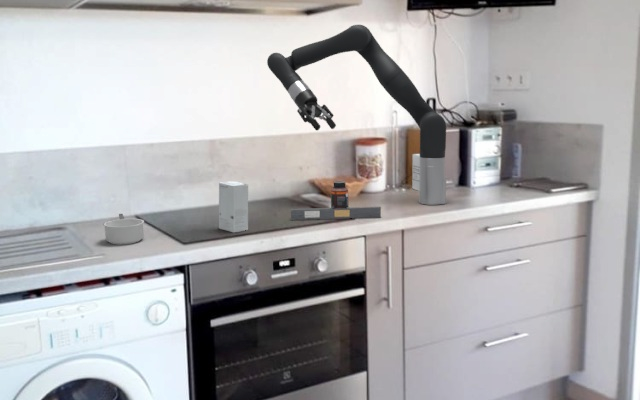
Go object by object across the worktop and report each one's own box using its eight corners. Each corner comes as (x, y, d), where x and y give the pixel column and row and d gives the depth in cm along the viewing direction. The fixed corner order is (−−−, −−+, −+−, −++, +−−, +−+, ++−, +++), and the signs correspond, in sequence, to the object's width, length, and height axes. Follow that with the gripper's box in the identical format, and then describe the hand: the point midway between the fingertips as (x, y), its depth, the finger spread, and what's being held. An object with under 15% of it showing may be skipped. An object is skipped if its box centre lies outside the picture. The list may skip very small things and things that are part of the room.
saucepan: (140, 229, 203) (139, 212, 202) (147, 243, 184) (146, 224, 183) (102, 232, 199) (101, 215, 198) (105, 247, 180) (103, 228, 179)
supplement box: (430, 187, 274) (431, 152, 272) (441, 190, 266) (441, 154, 263) (411, 188, 272) (411, 153, 269) (421, 192, 263) (421, 155, 260)
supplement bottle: (352, 214, 218) (351, 181, 216) (337, 216, 215) (337, 183, 213) (341, 211, 223) (341, 179, 221) (327, 214, 220) (327, 181, 218)
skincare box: (218, 229, 201) (216, 182, 198) (234, 226, 205) (232, 180, 202) (234, 233, 195) (232, 185, 192) (250, 230, 199) (248, 182, 196)
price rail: (380, 216, 216) (380, 206, 215) (380, 217, 214) (380, 207, 213) (290, 219, 214) (290, 209, 213) (291, 220, 212) (290, 210, 211)
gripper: (294, 88, 228) (318, 122, 223) (320, 88, 239) (344, 119, 233) (284, 103, 233) (307, 136, 227) (310, 102, 243) (333, 133, 238)
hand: (326, 128), depth 230 cm, fingers open, 8 cm apart
